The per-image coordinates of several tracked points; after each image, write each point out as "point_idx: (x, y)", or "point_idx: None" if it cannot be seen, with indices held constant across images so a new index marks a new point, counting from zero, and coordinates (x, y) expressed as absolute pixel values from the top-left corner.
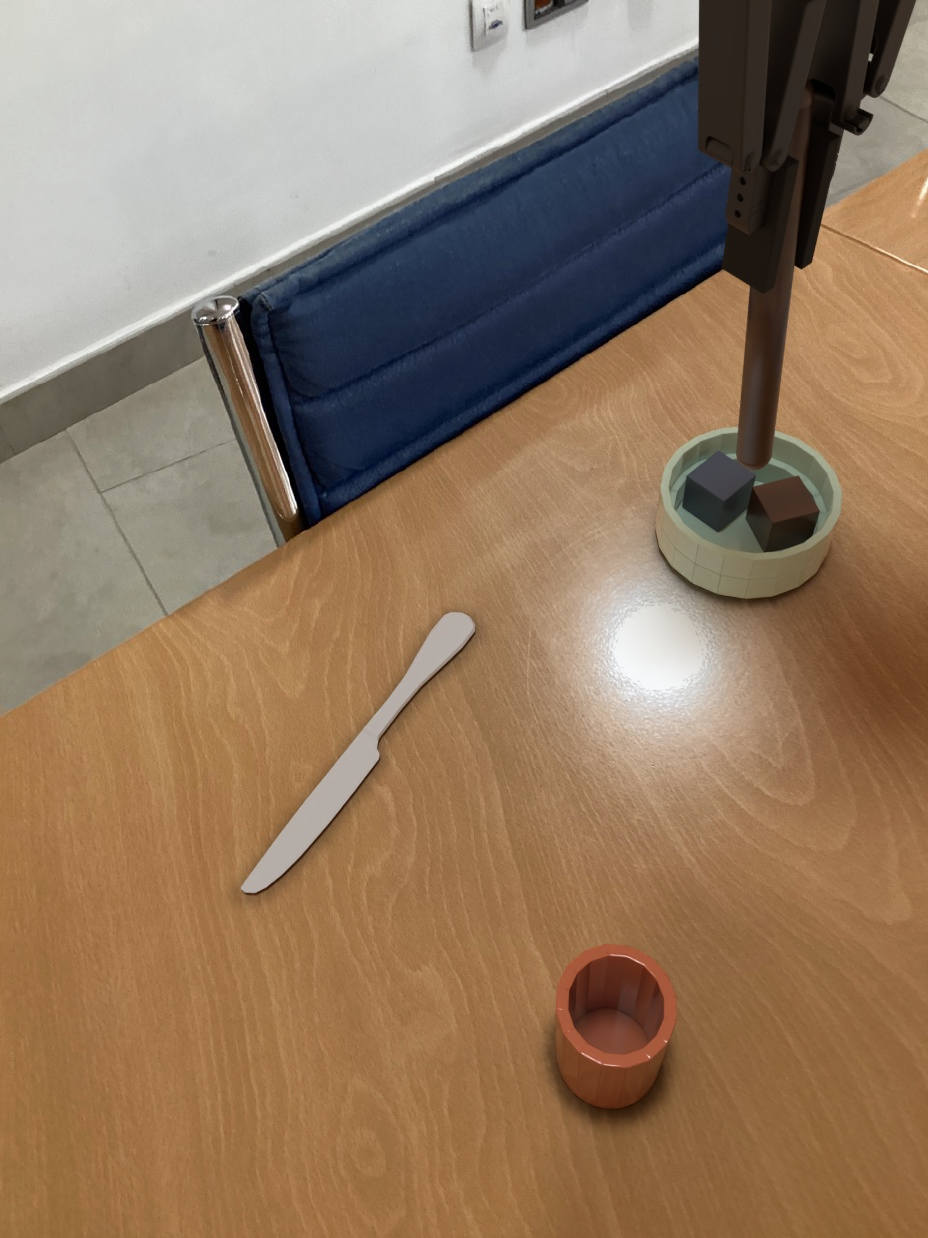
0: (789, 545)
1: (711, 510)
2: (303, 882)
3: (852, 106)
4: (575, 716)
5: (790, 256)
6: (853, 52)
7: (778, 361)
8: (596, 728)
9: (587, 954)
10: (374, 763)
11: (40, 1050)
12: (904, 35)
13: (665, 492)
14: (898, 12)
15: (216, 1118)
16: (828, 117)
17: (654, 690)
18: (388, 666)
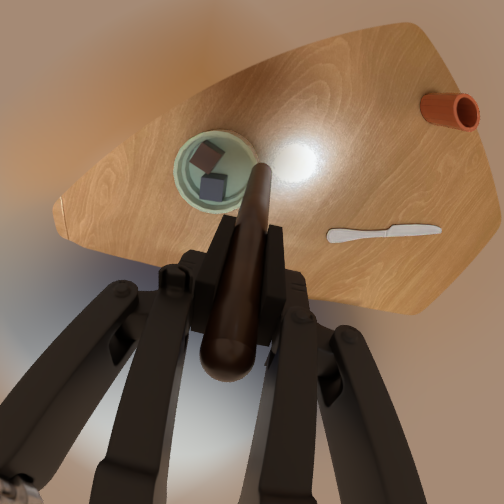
0: (215, 145)
1: (225, 182)
2: (432, 218)
3: (171, 297)
4: (343, 174)
5: (251, 231)
6: (173, 362)
7: (259, 189)
8: (343, 164)
9: (461, 126)
10: (395, 225)
11: (479, 245)
12: (78, 315)
13: (240, 204)
14: (81, 352)
15: (481, 198)
16: (191, 306)
17: (315, 153)
18: (359, 245)
